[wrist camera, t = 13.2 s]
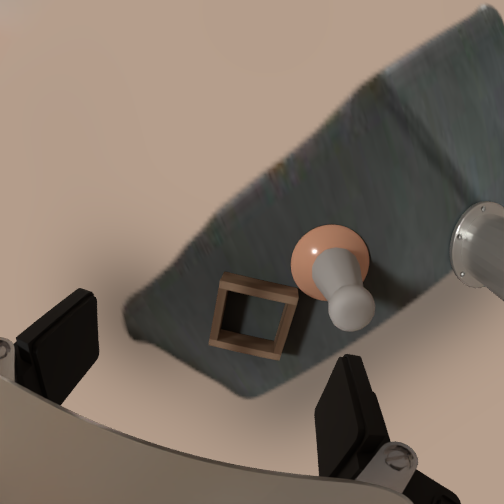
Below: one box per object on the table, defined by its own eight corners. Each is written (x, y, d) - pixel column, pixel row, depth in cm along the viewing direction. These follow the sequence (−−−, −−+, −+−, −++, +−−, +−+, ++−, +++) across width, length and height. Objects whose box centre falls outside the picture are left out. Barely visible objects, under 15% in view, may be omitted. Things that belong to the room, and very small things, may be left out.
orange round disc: (378, 235, 37) (379, 235, 37) (354, 305, 40) (355, 307, 40) (302, 215, 37) (302, 216, 37) (282, 290, 40) (282, 291, 40)
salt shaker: (309, 243, 38) (323, 285, 26) (355, 241, 37) (388, 281, 25) (310, 287, 40) (321, 344, 27) (354, 285, 39) (381, 339, 27)
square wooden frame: (297, 288, 40) (298, 298, 37) (279, 348, 43) (279, 360, 40) (224, 271, 40) (220, 280, 38) (212, 333, 43) (208, 344, 40)
